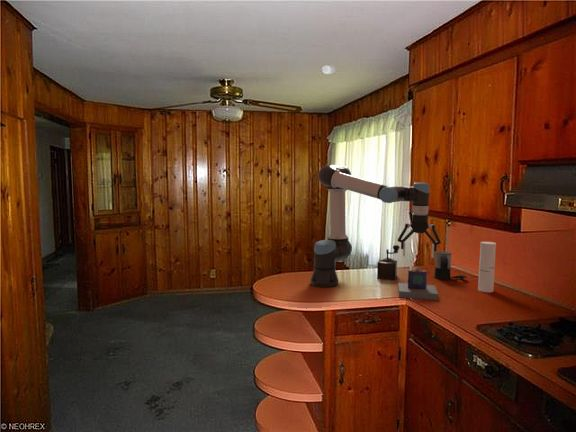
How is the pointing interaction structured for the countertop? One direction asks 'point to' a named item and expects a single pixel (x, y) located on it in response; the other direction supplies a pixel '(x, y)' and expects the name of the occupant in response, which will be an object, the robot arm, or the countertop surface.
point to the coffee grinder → (388, 266)
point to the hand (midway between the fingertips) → (418, 256)
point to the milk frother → (444, 266)
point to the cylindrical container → (487, 266)
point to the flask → (417, 279)
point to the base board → (418, 292)
